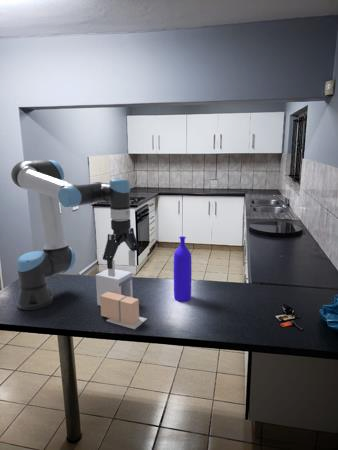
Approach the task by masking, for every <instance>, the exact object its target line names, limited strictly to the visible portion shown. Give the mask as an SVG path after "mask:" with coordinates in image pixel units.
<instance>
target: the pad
mask: <svg viewBox="0 0 338 450" xmlns="http://www.w3.org/2000/svg"><path fill="white" fill-rule="evenodd" d="M147 320H148V318H147V317H142V316H139V320H138V321H137V322H135V323H134V324H133V325H131V324H128V323H125V322H121V321H118V320H114V319H111V318H107V319H106V322H108V323H112V324H115V325H118V326H121V327H125V328H129V329H132V330H136V329H137V328H138V327H140V326H141V325H142V324H143V323H144V322H146V321H147Z"/></svg>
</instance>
